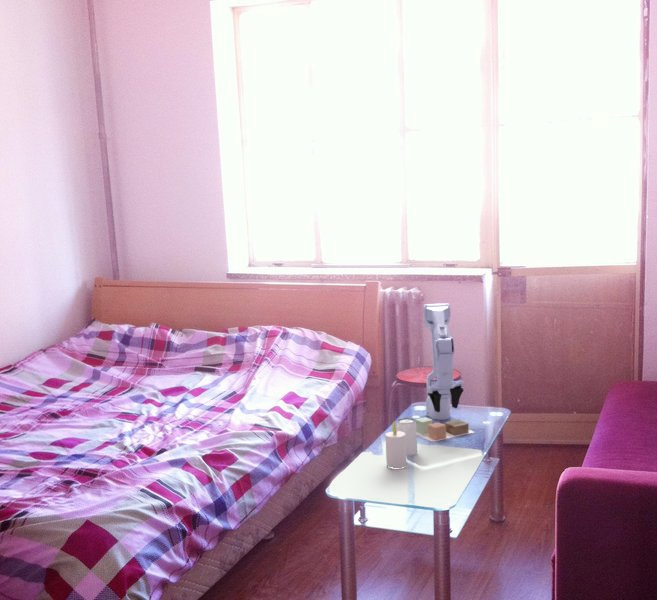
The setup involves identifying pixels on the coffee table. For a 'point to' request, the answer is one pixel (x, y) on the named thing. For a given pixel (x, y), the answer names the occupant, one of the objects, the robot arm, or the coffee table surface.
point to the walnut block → (457, 427)
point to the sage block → (423, 425)
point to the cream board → (443, 438)
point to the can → (408, 434)
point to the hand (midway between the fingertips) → (446, 409)
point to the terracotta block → (437, 431)
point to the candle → (395, 448)
